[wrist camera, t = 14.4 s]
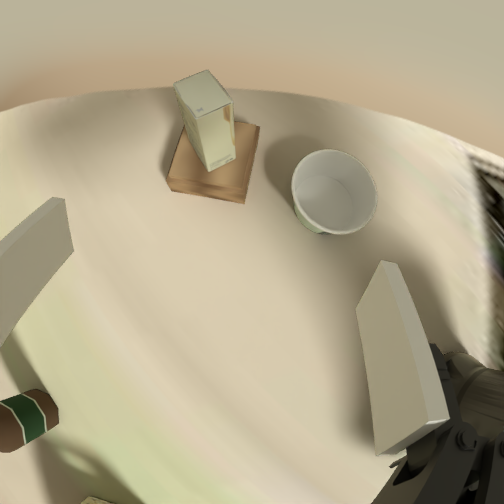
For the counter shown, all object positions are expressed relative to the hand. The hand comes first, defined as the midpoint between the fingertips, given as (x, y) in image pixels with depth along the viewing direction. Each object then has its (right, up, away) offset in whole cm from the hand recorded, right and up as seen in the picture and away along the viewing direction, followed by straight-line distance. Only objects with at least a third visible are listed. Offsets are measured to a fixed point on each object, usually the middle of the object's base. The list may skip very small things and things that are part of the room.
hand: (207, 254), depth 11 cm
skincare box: (-4, +14, +27) cm, 31 cm away
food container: (+12, +7, +32) cm, 35 cm away
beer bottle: (-34, -27, +24) cm, 50 cm away
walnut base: (-4, +13, +32) cm, 35 cm away
